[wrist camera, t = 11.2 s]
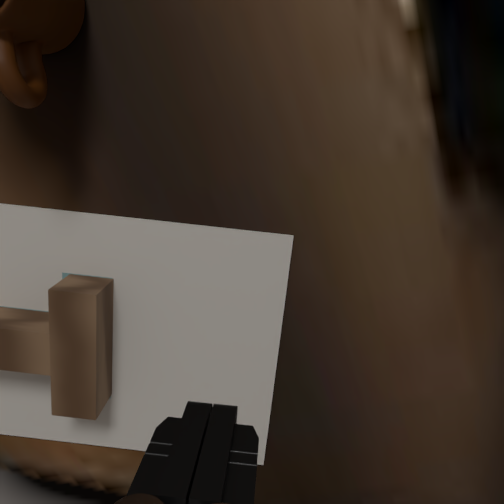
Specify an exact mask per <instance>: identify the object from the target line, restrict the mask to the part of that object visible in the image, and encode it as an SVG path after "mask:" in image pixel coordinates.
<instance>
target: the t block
mask: <svg viewBox="0 0 504 504" xmlns="http://www.w3.org/2000/svg"><path fill="white" fill-rule="evenodd" d="M113 282H114V279H110V278H101V277H92V276H83V275H74V274H69V275H68V276H66V277H65V278H64V279H62V280H61V281H59V282H58V283H57V284H55V285H54V286H52V287H51V288H50V289H48V308H49V312H43V311H34V310H25V309H16V308H7V307H0V370H4V371H13V372H22V373H30V374H39V375H48V376H50V377H51V411H52V415H54V416H63V417H71V418H80V419H88V420H96V419H97V418H98V416H99V414H100V413H101V411H102V410H103V408H104V406H105V405H106V403H107V401H108V400H109V398H110V396H111V395H112V349H113Z"/></svg>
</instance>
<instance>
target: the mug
mask: <svg viewBox="0 0 504 504" xmlns="http://www.w3.org/2000/svg"><path fill="white" fill-rule="evenodd" d="M84 14H85V1H84V0H0V91H1V92H2V93H3V95H4V96H5V97H6V98H7V99H8V100H9V101H11V102H12V103H13V104H15V105H16V106H19V107H23V108H35V107H37V106H39V105H40V104H41V103H42V102H43V101H44V99H45V97H46V95H47V76H46V72H45V68H44V64H43V61H42V58H43V57H42V54H51V53H55V52H58V51H60V50H62V49H64V48H66V47H67V46H68V45H69V44H70V43H71V42H72V41H73V40H74V39H75V38H76V36H77V35H78V33H79V31H80V29H81V26H82V24H83V20H84Z"/></svg>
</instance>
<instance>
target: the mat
mask: <svg viewBox="0 0 504 504" xmlns="http://www.w3.org/2000/svg"><path fill="white" fill-rule="evenodd" d="M292 244H293V235H285V234H276V233H267V232H257V231H248V230H239V229H230V228H221V227H212V226H203V225H193V224H184V223H175V222H166V221H157V220H148V219H138V218H129V217H120V216H111V215H102V214H93V213H84V212H74V211H65V210H56V209H47V208H38V207H29V206H19V205H10V204H1V203H0V307H7V308H16V309H25V310H34V311H43V312H49V308H48V289H50V288H51V287H52V286H54V285H55V284H57V283H58V282H59V281H61V280H62V279H64V278H65V277H66V276H68V275H69V274H74V275H83V276H92V277H101V278H110V279H114V282H113V349H112V395H111V396H110V398H109V400H108V401H107V403H106V405H105V406H104V408H103V410H102V411H101V413H100V414H99V416H98V418H97V419H96V420H88V419H80V418H71V417H63V416H54V415H52V411H51V377H50V376H48V375H39V374H30V373H22V372H13V371H4V370H0V434H4V435H12V436H21V437H29V438H38V439H46V440H55V441H63V442H72V443H80V444H89V445H97V446H106V447H114V448H123V449H132V450H140V451H146V450H147V447H148V445H149V443H150V440H151V438H152V436H153V433H154V431H155V429H156V427H157V426H158V425H159V424H160V423H162V422H163V421H164V420H165V419H166V418H167V417H176V418H182V416H183V413H184V410H185V407H186V404H187V402H188V401H193V402H203V403H212V407H213V404H223V405H232V406H238V411H237V424H242V425H251V426H253V427H254V429H255V431H256V433H257V435H258V437H259V446H258V458H257V464H259V465H263V464H264V457H265V449H266V442H267V434H268V426H269V419H270V411H271V404H272V396H273V388H274V381H275V373H276V366H277V358H278V350H279V343H280V335H281V328H282V320H283V312H284V305H285V297H286V290H287V282H288V274H289V267H290V259H291V252H292Z"/></svg>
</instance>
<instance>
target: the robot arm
mask: <svg viewBox="0 0 504 504" xmlns="http://www.w3.org/2000/svg"><path fill="white" fill-rule="evenodd" d="M237 411H238V406H232V405H223V404H213V407H212V403H203V402H193V401H188V402H187V404H186V407H185V410H184V413H183V416H182V418H176V417H167V418H166V419H165V420H164V421H163V422H162V423H160V424H159V425H158V426H157V427H156V429H155V431H154V433H153V436H152V438H151V440H150V443H149V445H148V447H147V450H146V453H145V455H144V456H143V459H142V461H141V463H140V466H139V468H138V470H137V473H136V475H135V477H134V480H133V482H132V484H131V486H130V489H129V491H128V493H127V496H126V497H124V498H122V499H120V500H119V501H117V502H116V503H115V504H254V494H255V482H256V470H257V458H258V446H259V437H258V435H257V433H256V431H255V429H254V427H253V426H251V425H242V424H237Z"/></svg>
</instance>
